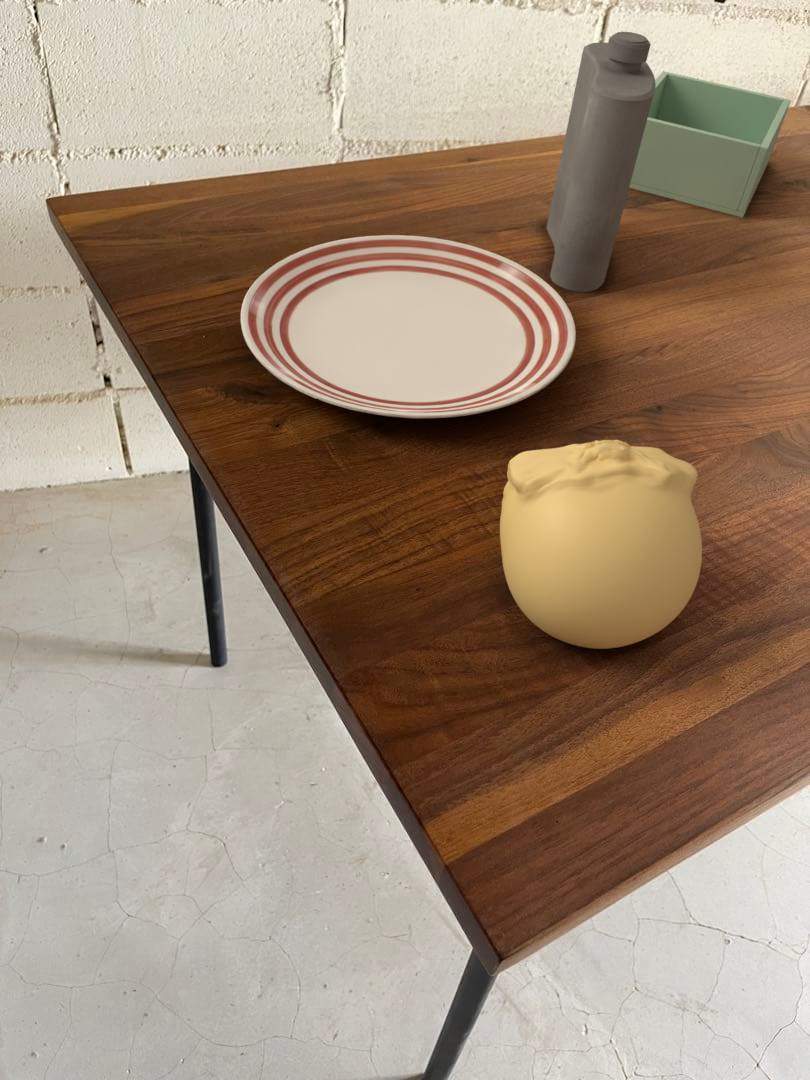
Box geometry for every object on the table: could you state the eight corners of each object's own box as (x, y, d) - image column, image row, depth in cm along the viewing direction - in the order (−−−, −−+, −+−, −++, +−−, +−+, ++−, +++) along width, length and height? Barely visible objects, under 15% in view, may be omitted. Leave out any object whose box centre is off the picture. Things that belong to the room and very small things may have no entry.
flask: (611, 298, 83) (675, 68, 69) (550, 291, 83) (601, 60, 69) (599, 227, 94) (652, 15, 80) (544, 220, 94) (588, 8, 80)
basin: (766, 165, 110) (791, 99, 105) (741, 220, 98) (767, 148, 93) (645, 135, 114) (662, 70, 109) (607, 184, 102) (624, 113, 97)
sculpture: (635, 527, 61) (683, 399, 53) (700, 667, 53) (767, 539, 45) (473, 534, 59) (499, 402, 52) (514, 680, 51) (551, 549, 43)
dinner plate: (312, 481, 61) (313, 443, 59) (201, 289, 78) (198, 254, 76) (632, 405, 71) (643, 370, 69) (472, 248, 88) (477, 216, 86)
